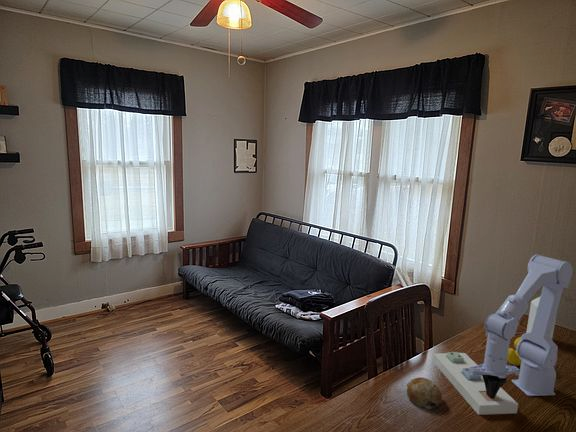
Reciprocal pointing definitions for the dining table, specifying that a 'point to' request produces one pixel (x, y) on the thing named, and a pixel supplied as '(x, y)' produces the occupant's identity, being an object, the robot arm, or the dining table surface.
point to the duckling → (514, 354)
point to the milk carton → (532, 316)
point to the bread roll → (424, 393)
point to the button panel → (474, 387)
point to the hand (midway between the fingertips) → (490, 396)
